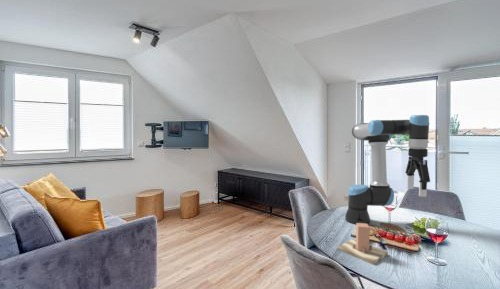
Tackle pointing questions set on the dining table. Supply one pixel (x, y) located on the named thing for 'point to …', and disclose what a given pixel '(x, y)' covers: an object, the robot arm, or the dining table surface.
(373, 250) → the base plate
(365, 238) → the block
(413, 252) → the dining table surface
